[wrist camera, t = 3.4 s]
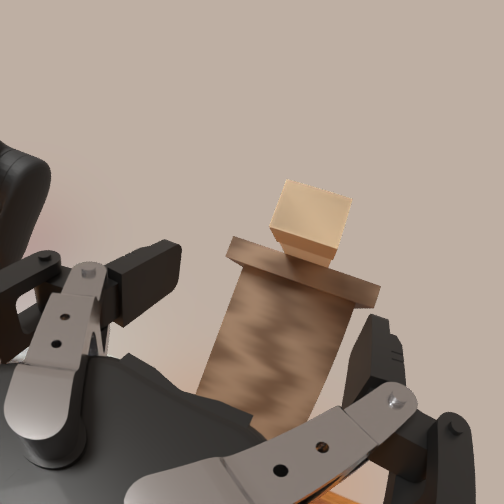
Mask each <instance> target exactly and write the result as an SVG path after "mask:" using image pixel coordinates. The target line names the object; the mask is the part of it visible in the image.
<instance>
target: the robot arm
mask: <svg viewBox="0 0 504 504" xmlns="http://www.w3.org/2000/svg"><path fill="white" fill-rule="evenodd" d="M50 182H51V171H50V167H49V166H48V164H47V163H46V162H45V161H43V160H41V159H39V158H37V157H34V156H31V155H29V154H26V153H24V152H21V151H19V150H16V149H13V148H11V147H9V146H7V145H5V144H4V143H3V142H2V141H0V504H311V503H312V502H314V501H315V500H317V499H318V498H320V497H321V496H322V495H324V494H325V493H326V492H328V491H329V490H331V489H332V488H333V487H335V486H336V485H338V484H339V483H340V482H342V481H343V480H345V479H346V478H347V477H348V476H350V475H351V474H352V473H354V472H355V471H356V470H358V469H359V468H360V467H361V466H363V465H364V464H365V463H366V462H368V461H369V460H370V461H372V462H374V463H376V464H377V465H379V466H381V467H383V468H385V469H387V470H389V475H388V482H387V487H386V493H385V498H384V502H383V504H476V494H475V493H476V489H475V467H474V454H473V444H472V436H471V429H470V427H469V425H468V423H467V422H466V420H465V419H464V418H462V417H461V416H460V415H458V414H456V413H452V412H446V413H443V414H442V415H440V417H439V418H438V419H437V420H435V419H433V418H432V417H430V416H428V415H426V414H424V413H422V412H421V411H419V410H418V409H417V405H418V403H417V399H416V397H415V395H414V394H413V393H412V391H411V390H410V389H409V388H407V387H406V379H405V368H404V358H403V349H402V344H401V343H400V341H399V339H398V338H397V336H395V335H393V334H390V329H389V320H388V319H385V318H382V317H379V316H376V315H373V314H370V315H369V317H368V318H367V321H366V323H365V325H364V327H363V329H362V331H361V333H360V335H359V337H358V340H357V341H356V343H355V345H354V347H353V350H352V352H351V355H350V358H349V365H348V372H347V378H346V384H345V390H344V396H343V402H342V407H341V406H335V407H333V408H331V409H329V410H328V411H326V412H324V413H322V414H321V415H319V416H317V417H315V418H313V419H311V420H309V421H307V422H305V423H303V424H301V425H299V426H297V427H295V428H293V429H291V430H289V431H287V432H285V433H283V434H281V435H279V436H277V437H274V438H272V439H270V440H267V439H266V438H265V437H264V436H263V435H262V434H261V433H260V432H258V431H257V430H256V429H255V428H253V427H252V426H250V423H251V421H252V418H253V416H254V415H252V414H249V413H247V412H244V411H242V410H239V409H237V408H235V407H232V406H230V405H228V404H226V403H223V402H221V401H218V400H214V399H210V398H206V397H202V396H198V395H195V394H191V393H187V392H184V391H181V390H180V389H178V388H177V387H176V386H175V385H173V384H172V383H171V382H170V381H169V380H168V379H167V378H165V377H164V376H163V375H162V374H161V373H160V372H159V371H157V370H156V369H155V368H154V367H152V366H150V365H148V364H147V363H145V362H143V361H142V360H140V359H138V358H136V357H135V356H133V355H131V354H130V353H128V354H126V355H125V356H124V357H123V358H122V359H121V360H120V359H117V358H113V357H108V356H107V350H108V342H109V334H110V323H111V322H115V323H116V324H118V325H120V326H121V327H123V328H124V327H125V326H126V325H128V324H129V323H130V322H132V321H133V320H134V319H136V318H137V317H138V316H140V315H141V314H142V313H144V312H145V311H146V310H148V309H149V308H150V307H152V306H153V305H154V304H156V303H157V302H158V301H160V300H161V299H162V298H164V297H165V296H166V295H168V294H169V293H170V292H172V291H173V290H174V288H175V287H176V285H177V283H178V279H179V271H180V261H181V253H182V248H181V246H180V245H179V244H176V243H173V242H171V241H168V240H165V239H164V240H161V241H159V242H158V243H155V244H153V245H151V246H147V247H142V248H139V249H137V250H135V251H133V252H132V253H129V254H126V255H125V256H122V257H120V258H118V259H116V260H114V261H112V262H110V263H108V264H106V265H102V264H100V263H97V262H83V263H79V264H77V265H75V266H74V267H73V268H68V267H64V266H61V257H60V255H59V253H57V252H55V251H50V250H45V251H39V252H37V253H34V254H32V255H30V256H28V257H26V258H24V259H22V257H23V255H24V253H25V250H26V248H27V245H28V242H29V239H30V237H31V234H32V231H33V229H34V226H35V224H36V222H37V219H38V217H39V215H40V212H41V210H42V208H43V205H44V203H45V200H46V197H47V195H48V191H49V188H50ZM33 288H34V290H35V296H36V300H37V303H35V304H34V305H32V306H31V307H29V308H28V309H26V310H24V311H23V312H21V313H19V314H17V310H16V301H17V299H18V298H19V297H20V296H21V295H23V294H24V293H26V292H28V291H30V290H31V289H33ZM27 347H29V349H28V352H27V355H26V358H25V360H24V361H23V362H21V363H11V364H6V363H7V362H9V361H10V360H11V359H13V358H14V357H15V356H17V355H18V354H19V353H21V352H22V351H23V350H25V349H26V348H27Z"/></svg>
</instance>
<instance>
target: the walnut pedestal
mask: <svg viewBox="0 0 504 504" xmlns="http://www.w3.org/2000/svg"><path fill="white" fill-rule="evenodd" d="M226 257H227V258H229V259H231V260H232V261H234V262H236V263H238V264H239V265H240V266H242V267H243V269H242V271H241V275H240V277H239V279H238V282H237V285H236V287H235V290H234V293H233V295H232V298H231V301H230V304H229V306H228V309H227V311H226V314H225V317H224V319H223V322H222V325H221V327H220V330H219V333H218V335H217V338H216V341H215V343H214V346H213V349H212V351H211V354H210V357H209V359H208V362H207V365H206V368H205V370H204V373H203V376H202V378H201V381H200V384H199V387H198V389H197V392H196V394H195V395H198V396H202V397H206V398H210V399H214V400H218V401H221V402H223V403H226V404H228V405H230V406H232V407H235V408H237V409H239V410H242V411H244V412H247V413H249V414H252V415H254V416H253V418H252V421H251V423H250V426H252V427H253V428H255V429H256V430H257V431H258V432H260V433H261V434H262V435H263V436H264V437H265V438H266V439H267V440H270V439H272V438H274V437H277V436H279V435H281V434H283V433H285V432H287V431H289V430H291V429H293V428H295V427H297V426H299V425H301V424H303V423H305V422H307V420H308V418H309V416H310V414H311V412H312V410H313V407H314V405H315V403H316V401H317V399H318V397H319V395H320V392H321V390H322V388H323V385H324V383H325V381H326V379H327V376H328V374H329V372H330V369H331V367H332V364H333V362H334V360H335V357H336V355H337V352H338V350H339V347H340V345H341V342H342V339H343V337H344V334H345V331H346V328H347V326H348V323H349V321H350V318H351V315H352V312H353V309H354V308H374V306H375V303H376V300H377V297H378V294H379V291H380V287H381V286H379V285H376V284H373V283H370V282H367V281H364V280H362V279H359V278H356V277H353V276H350V275H347V274H344V273H341V272H338V271H335V270H332V269H329V268H327V267H324V266H321V265H318V264H315V263H312V262H309V261H306V260H303V259H300V258H297V257H294V256H291V255H288V254H285V253H282V252H279V251H276V250H273V249H270V248H267V247H265V246H261V245H258V244H256V243H253V242H249V241H247V240H244V239H241V238H238V237H235V236H233V239H232V241H231V244H230V246H229V249H228V252H227V254H226Z"/></svg>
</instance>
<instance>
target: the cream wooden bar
mask: <svg viewBox="0 0 504 504" xmlns="http://www.w3.org/2000/svg"><path fill="white" fill-rule="evenodd" d="M351 203H352V199H351V198H348V197H345V196H342V195H339V194H335V193H332V192H329V191H326V190H323V189H319V188H315V187H313V186H309V185H306V184H302V183H299V182H295V181H292V180H288V179H287V180H286V182H285V185H284V188H283V190H282V193H281V196H280V198H279V201H278V204H277V206H276V209H275V212H274V215H273V217H272V220H271V223H270V226H269V227H270V229H271V231H272V233H273V235H274V237H275V239H276V241H277V242H280V244H281V246H282V248H283V250H284V253H285V254H288V255H291V256H294V257H297V258H300V259H303V260H306V261H309V262H312V263H315V264H318V265H321V266H324V267H327V268H328V267H329V264H330V262H331V260H333V259H334V256H335V254H336V251H337V249H338V246H339V243H340V240H341V236H342V233H343V230H344V227H345V223H346V220H347V217H348V213H349V210H350V206H351Z"/></svg>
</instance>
